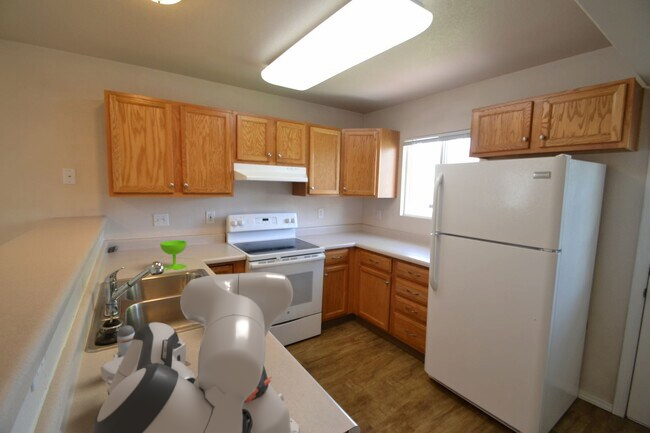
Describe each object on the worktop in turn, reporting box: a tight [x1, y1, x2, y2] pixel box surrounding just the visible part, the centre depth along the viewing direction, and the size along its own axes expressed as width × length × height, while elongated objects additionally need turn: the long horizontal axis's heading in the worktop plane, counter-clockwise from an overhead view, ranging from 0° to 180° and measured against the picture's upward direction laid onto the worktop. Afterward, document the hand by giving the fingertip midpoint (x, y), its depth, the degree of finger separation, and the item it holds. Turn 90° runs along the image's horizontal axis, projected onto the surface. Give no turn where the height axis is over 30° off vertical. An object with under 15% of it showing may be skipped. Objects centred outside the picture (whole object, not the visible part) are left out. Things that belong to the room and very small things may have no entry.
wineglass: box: [159, 239, 188, 270], centre depth 200 cm, size 16×16×18 cm
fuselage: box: [116, 325, 135, 357], centre depth 93 cm, size 5×5×14 cm
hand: (134, 348), depth 89 cm, fingers open, 8 cm apart
